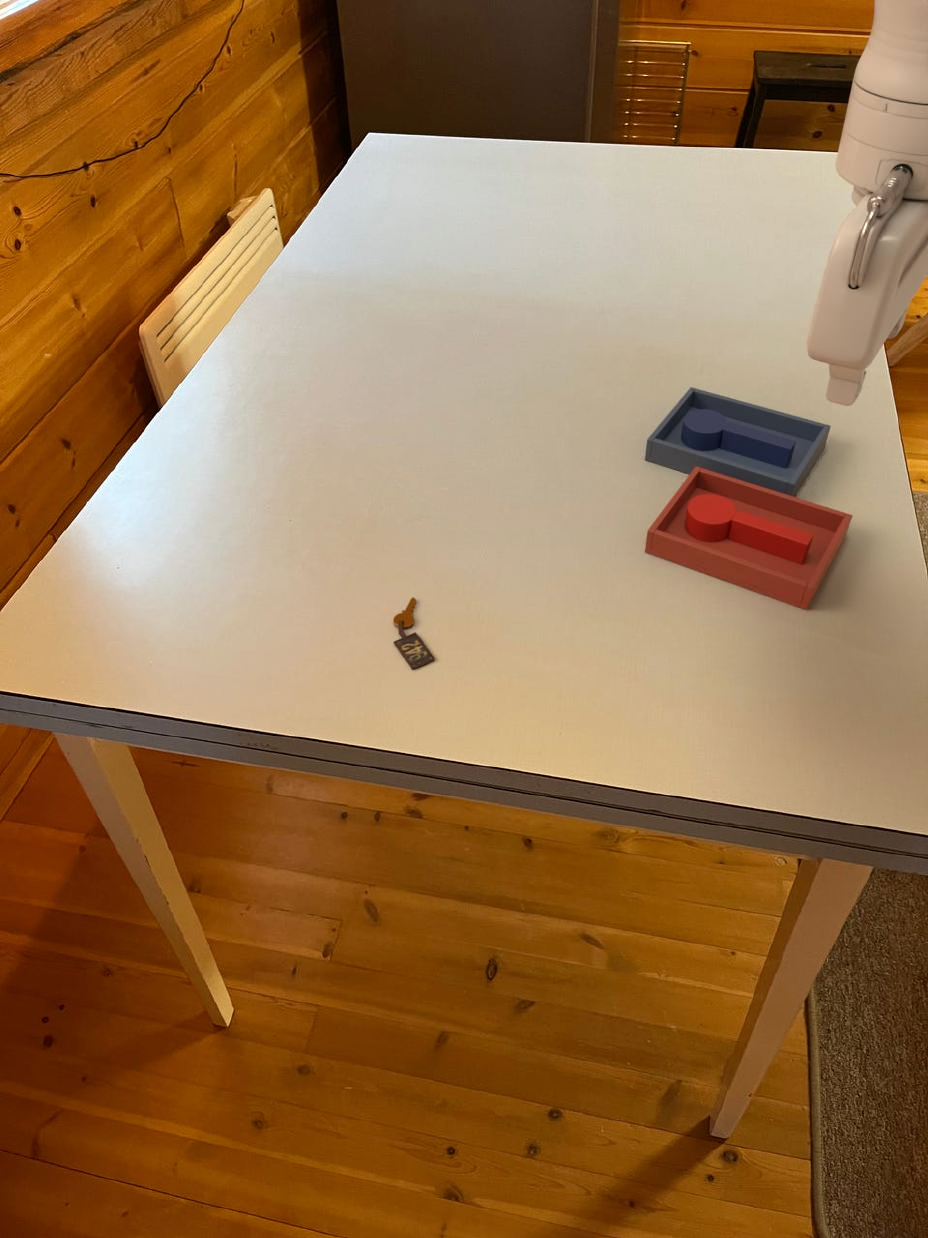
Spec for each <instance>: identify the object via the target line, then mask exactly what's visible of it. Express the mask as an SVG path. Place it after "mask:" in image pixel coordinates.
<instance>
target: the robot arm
mask: <svg viewBox="0 0 928 1238" xmlns="http://www.w3.org/2000/svg"><path fill="white" fill-rule="evenodd" d="M873 2H874V3H873V5H874V11H873V13H874V14H873V22H872V26H871V30H870V34H869V38H868V39H867V42H866V45H865V48H864V50H863V51H862V54H861V56H860V58H859V60H858V61H857V64H856V67H855V70H854V74H853V79H852V84H851V88H850V94H849V98H848V103H847V108H846V112H845V118H844V121H843V126H842V132H841V136H840V140H839V145H838V150H837V154H836V155H837V156H836V161H835V171H836V172H837V174H838V175H839V176H840V177H841V178H842V179H843V180H844V181H846V182H847V183H848V184H850V185H852V186H853V187H852V192H851V196H850V199H851V201H852V203H853V204H854V205H855V206H854V208H853V209H852V210H851V212H849V214H848V215H847V216H846V218H845V219H844V220H843V221H842V223H841V224H840V227H839V228H838V231H837V233H836V235H835V237H834V240H833V243H832V246H831V248H830V251H829V255H828V257H827V261H826V265H825V268H824V271H823V276H822V279H821V283H820V286H819V289H818V294H817V297H816V301H815V304H814V310H813V313H812V317H811V321H810V325H809V329H808V332H807V339H806V351H807V356H808V357H809V358H810V359H811V360H814V361H817V362H820V363H825V364H828V370H829V378H828V383H827V388H826V391H825V398H826V400H827V401H828V402H830V403H833V404H837V405H842V406H845V407H847V406H848V407H849V406H852V405H854V403H855V402H856V400H858V398H859V396H860V394H861V392H862V390H863V385H864V382H865V379H866V375H867V370H866V369H867V368H868V367H870V365H871V364H872V363H873V361H874V360H875V358H876V357H877V355H878V353H879V351H880V350H881V349H882V347H883V345H884V344H885V342H886V341H887V339H888V340H892V339H894V338H896V337H897V336H898V334H899V332H900V331H901V329H902V328H903V326H904V323H905V320H906V317H907V313H908V310H909V307H910V306H911V305H910V304H911V302H912V301H913V299H914V297H915V296H916V294H917V293H918V291H919V289H920V288H921V286H922V285H923V283H924V282H925V280H926V278H927V277H928V0H874V1H873Z"/></svg>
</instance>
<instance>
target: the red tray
mask: <svg viewBox="0 0 928 1238" xmlns="http://www.w3.org/2000/svg"><path fill="white" fill-rule="evenodd" d="M704 494H714V495H719V496H722V497H725V498H727V499H728V500H730V501H731V502H732V503H733V504H734V506H735V508H736V513H737V511H738V510H739V511H742V512H745V513H748V514H751V515H755V516H758V517H761V518H764V519H767V520H770V521H773V522H776V523H779V524H782V525H785V526H788V527H791V528H794V529H797V530H800V531H803V532H806V533H809V534H812V535H813V539H812V542H811V546H810V549H809V552H808V555H807V557H806V559H805V560H804V562H803V564H799V563H796V562H793V561H790V560H787V559H784V558H781V557H778V556H776V555H773V554H770V553H767V552H764V551H761V550H758V549H755V548H752V547H749V546H746V545H743V544H741V543H738V542H735V541H732V540H729V539H728V538H726V539H724V540H722V541H718V542H705V541H701V540H698V539H696V538H694V537H692V536H691V535H690V534H689V533H688V532H687V531H686V529H685V519H686V513H687V507H688V503H689V502H690V501H691V500H692V499H693V498H694V497H696V496H699V495H704ZM852 518H853V515H852V514H850V513H847V512H844V511H841V510H837V509H835V508H832V507H828V506H825V505H821V504H820V503H819V504H818V503H815V502H812V501H809V500H805V499H802V498H799V497H796V496H794V497H793V496H790V495H786V494H783V493H780V492H777V491H774V490H770V489H767V488H764V487H761V486H758V485H754V484H751V483H748V482H745V481H742V480H738V479H735V478H732V477H729V476H726V475H722V474H719V473H716V472H713V471H710V470H706V469H703V468H700V467H697V466H696V467H695V468H694V469H693V471H692V472H691V473H690V474H688V476H687V477H686V478H685V480H683V483H681V485H680V486H679V488H678V489H677V491H676V492H675V493H674V494H673V496H672V497H671V498H670V499H669V501H668V502H667V504H666V506H665V507H664V508H663V509H662V511H661V512H660V513H659V515H658V516H657V517H656V519H655V520H654V521H653V522H652V524H651V525H650V527H649V528H648V529H647V531H646V539H645V547H644V553H647V554H650V555H652V556H655V557H658V558H661V559H664V560H666V561H669V562H671V563H675V564H678V565H680V566H683V567H685V568H689V569H691V570H694V571H697V572H700V573H703V574H705V575H708V576H711V577H714V578H716V579H719V580H722V581H724V582H728V583H730V584H733V585H735V586H739V587H741V588H745V589H747V590H750V591H752V592H755V593H758V594H761V595H764V596H767V597H770V598H771V599H775V600H778V601H780V602H783V603H785V604H788V605H792V606H794V607H797V608H800V609H802V610H808V609H809V607H810V605H811V603H812V601H813V600H814V598H815V595H816V594H817V591H818V590H819V588H820V586H821V584H822V582H823V580H824V578H825V576H826V575H827V572H828V570H829V569H830V568H831V565H832V563H833V562H834V559H835V557H836V556H837V553H838V552H839V550H840V549H841V546H842V544H843V542H844V540H845V539H846V537H847V534H848V531H849V528H850V524H851V522H852Z"/></svg>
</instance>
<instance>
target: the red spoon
mask: <svg viewBox="0 0 928 1238" xmlns="http://www.w3.org/2000/svg"><path fill="white" fill-rule="evenodd" d="M685 529H686V531H687V532H688V533H689V534H690V535H691V536H692V537H694V538H696V539H698V540H701V541H705V542H718V541H722V540H724V539H726V538H728V539H729V540H732V541H735V542H738V543H741V544H743V545H746V546H749V547H752V548H755V549H758V550H761V551H764V552H767V553H770V554H773V555H776V556H778V557H781V558H784V559H787V560H790V561H793V562H796V563H799V564H803V562H804V560H805V559H806V557H807V555H808V552H809V549H810V546H811V542H812V539H813V535H812V534H809V533H806V532H803V531H800V530H797V529H794V528H791V527H788V526H785V525H782V524H779V523H776V522H773V521H770V520H767V519H764V518H761V517H758V516H755V515H751V514H748V513H745V512H742V511H739V510H738V511H737V513H736V508H735V506H734V504H733V503H732V502H731V501H730V500H728V499H727V498H725V497H722V496H719V495H714V494H704V495H699V496H696V497H694V498H693V499H692V500H691V501H690V502H689V503H688V507H687V513H686V519H685Z"/></svg>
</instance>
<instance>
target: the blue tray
mask: <svg viewBox="0 0 928 1238" xmlns="http://www.w3.org/2000/svg"><path fill="white" fill-rule="evenodd" d="M699 409H707V410H713V411H716V412H718V413H720V414H722V415H723V416H724V417H725V418H726V420H727V424H728V423H729V422H732V423H735V424H739V425H742V426H746V427H749V428H752V429H756V430H759V431H763V432H766V433H770V434H773V435H777V436H780V437H783V438H787V439H790V440H794V441H796V443H795V447H794V451H793V455H792V459H791V461H790V463H789V464H788V466H787V467H786V468H782V467H779V466H776V465H772V464H769V463H766V462H763V461H759V460H756V459H753V458H749V457H746V456H743V455H739V454H736V453H733V452H730V451H726V450H723V449H720V447H719V448H717V449H715V450H711V451H699V450H695V449H692V448H689V447H688V446H686V445H685V444H684V443H683V442H682V440H681V434H682V427H683V420H684V417H685V415H686V414H687V413H689V412H691V411H694V410H699ZM831 427H832V426H831V425H829V424H826V423H822V422H819V421H814V420H811V419H809V418H805V417H801V416H798V415H793V414H790V413H786V412H783V411H778V410H776V409H772V408H768V407H764V406H761V405H757V404H754V403H750V402H748V401H743V400H739V399H736V398H732V397H728V396H725V395H722V394H721V395H720V394H718V393H714V392H710V391H706V390H703V389H699V388H696V387H692V386H690V387H689V389H688V390H687V391H686V392H685V393H684V395H683V396H681V398H680V399H679V400H678V401H677V403H676V404H675V405H674V407H672V409H671V410H670V411H669V412H668V414H667V415H666V416H665V417H664V418H663V420H662V421H661V422H660V423H659V424H658V426H656V427H655V429H654V430H653V432H652V433H651V434H650V435H649V437H647V439H646V446H645V454H644V455H645V456H644V461H647V462H649V463H653V464H656V465H659V466H662V467H665V468H669V469H671V470H675V471H678V472H681V473H683V474H684V473H685V474H687V475H690V473H691V472H692V471H693V469H694V468H695V467H696V466H697V467H700V468H703V469H706V470H710V471H713V472H716V473H719V474H722V475H726V476H729V477H732V478H735V479H738V480H742V481H745V482H748V483H751V484H754V485H758V486H761V487H764V488H767V489H770V490H774V491H777V492H780V493H783V494H786V495H790V496H793V497H796V495H797V493H798V491H799V490H800V488H801V487H802V485H803V483H804V482H805V481H806V478H807V477H808V475H809V474H810V471H811V470H812V468H813V467H814V465H815V464H816V462H817V461H818V460H819V457H820V455H821V454H822V452H823V450H824V449H825V447H826V444H827V441H828V437H829V434H830V430H831Z"/></svg>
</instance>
